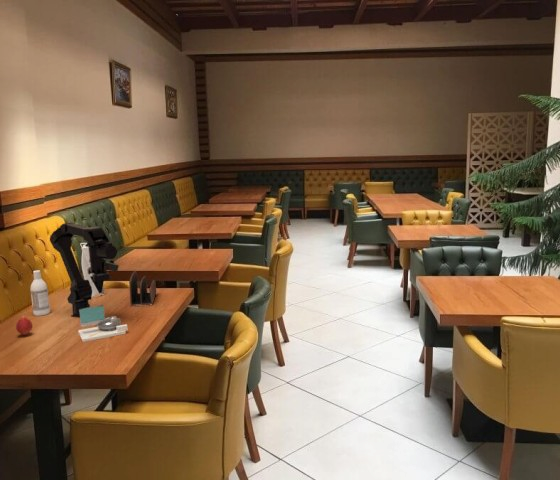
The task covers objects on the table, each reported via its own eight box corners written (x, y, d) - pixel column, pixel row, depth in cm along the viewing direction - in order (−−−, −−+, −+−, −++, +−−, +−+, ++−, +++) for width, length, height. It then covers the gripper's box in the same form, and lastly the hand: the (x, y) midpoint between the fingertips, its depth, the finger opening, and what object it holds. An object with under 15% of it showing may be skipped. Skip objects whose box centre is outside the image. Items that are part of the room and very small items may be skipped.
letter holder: (130, 307, 240) (127, 277, 237) (136, 295, 259) (134, 268, 257) (152, 305, 241) (149, 276, 239) (156, 294, 260) (154, 267, 258)
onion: (17, 338, 202) (14, 319, 201) (17, 334, 207) (14, 315, 206) (33, 335, 205) (31, 316, 203) (33, 331, 210) (30, 312, 208)
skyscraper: (92, 298, 256) (86, 243, 252) (81, 297, 260) (75, 242, 256) (105, 294, 263) (100, 240, 259) (94, 292, 267) (89, 240, 263)
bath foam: (33, 312, 236) (28, 270, 233) (50, 310, 239) (45, 268, 236) (33, 316, 230) (27, 273, 227) (50, 314, 233) (44, 271, 229)
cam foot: (118, 320, 214) (116, 300, 212) (123, 326, 206) (121, 305, 204) (80, 328, 206) (77, 306, 205) (83, 334, 199) (81, 312, 197)
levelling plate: (121, 324, 214) (120, 317, 214) (128, 333, 204) (127, 325, 203) (78, 332, 206) (77, 325, 206) (83, 342, 196) (82, 334, 195)
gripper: (120, 258, 213) (124, 294, 216) (111, 251, 229) (115, 285, 232) (92, 261, 208) (96, 299, 210) (85, 254, 224) (89, 289, 227)
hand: (100, 292), depth 220 cm, fingers closed
